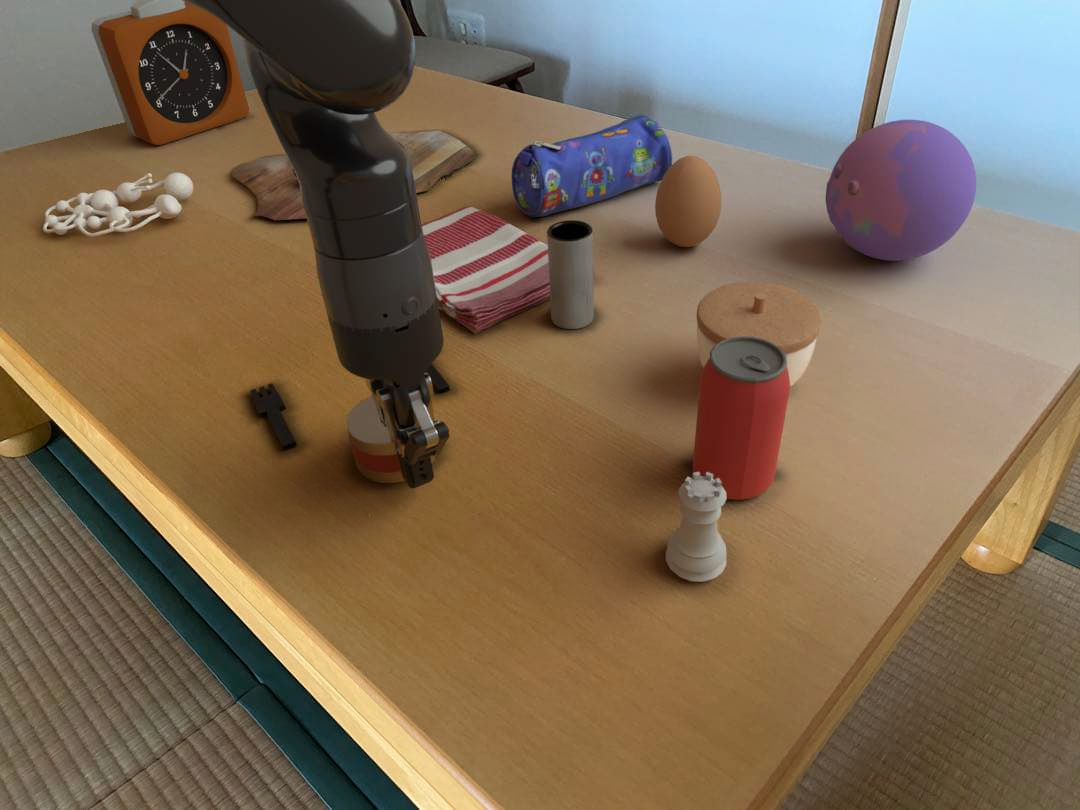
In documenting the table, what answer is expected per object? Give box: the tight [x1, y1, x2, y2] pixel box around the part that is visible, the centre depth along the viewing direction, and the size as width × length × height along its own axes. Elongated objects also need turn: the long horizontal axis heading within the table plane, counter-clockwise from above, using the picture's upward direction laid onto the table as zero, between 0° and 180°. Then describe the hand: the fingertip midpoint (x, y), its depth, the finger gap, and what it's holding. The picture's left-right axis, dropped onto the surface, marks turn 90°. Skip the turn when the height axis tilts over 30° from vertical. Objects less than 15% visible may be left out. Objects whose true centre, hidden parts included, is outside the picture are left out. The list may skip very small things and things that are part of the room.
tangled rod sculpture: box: [42, 172, 194, 238], centre depth 111 cm, size 19×14×4 cm
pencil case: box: [511, 114, 673, 218], centre depth 107 cm, size 22×9×10 cm, turn 119°
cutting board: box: [231, 130, 477, 221], centre depth 120 cm, size 35×27×4 cm
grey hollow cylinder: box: [546, 219, 595, 330], centre depth 84 cm, size 4×4×10 cm
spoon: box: [425, 362, 451, 395], centre depth 82 cm, size 10×4×1 cm, turn 29°
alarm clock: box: [91, 0, 250, 147], centre depth 134 cm, size 18×9×21 cm, turn 136°
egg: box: [654, 155, 722, 248], centre depth 95 cm, size 8×8×11 cm
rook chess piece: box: [665, 472, 728, 583], centre depth 58 cm, size 4×4×8 cm
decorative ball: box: [825, 119, 977, 262], centre depth 90 cm, size 15×15×15 cm
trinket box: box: [696, 281, 822, 388], centre depth 74 cm, size 11×11×9 cm
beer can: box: [692, 336, 791, 501], centre depth 64 cm, size 7×7×12 cm
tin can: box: [346, 395, 437, 484], centre depth 70 cm, size 7×7×4 cm
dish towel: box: [421, 205, 550, 334], centre depth 96 cm, size 17×23×3 cm
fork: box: [249, 382, 298, 451], centre depth 76 cm, size 10×2×1 cm, turn 29°
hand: (418, 479), depth 66 cm, fingers closed
